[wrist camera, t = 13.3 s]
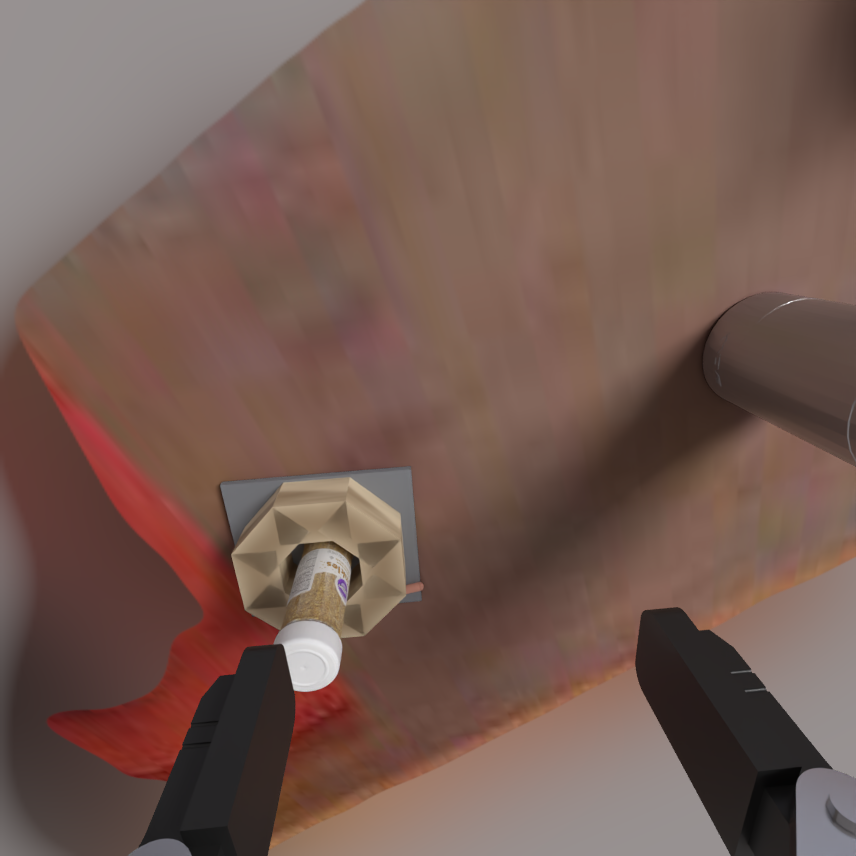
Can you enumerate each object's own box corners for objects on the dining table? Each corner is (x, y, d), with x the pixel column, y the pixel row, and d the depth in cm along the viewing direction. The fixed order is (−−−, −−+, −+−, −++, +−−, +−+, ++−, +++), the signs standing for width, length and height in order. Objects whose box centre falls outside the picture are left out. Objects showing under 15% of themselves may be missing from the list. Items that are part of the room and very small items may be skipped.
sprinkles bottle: (365, 549, 45) (353, 672, 32) (326, 575, 46) (300, 705, 33) (332, 514, 43) (307, 630, 31) (292, 542, 44) (252, 665, 32)
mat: (410, 466, 43) (411, 469, 42) (421, 596, 48) (421, 600, 47) (222, 481, 42) (220, 485, 42) (253, 612, 47) (252, 616, 47)
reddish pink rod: (422, 579, 46) (422, 584, 46) (424, 586, 47) (424, 591, 46) (290, 610, 47) (288, 616, 46) (293, 617, 47) (291, 623, 46)
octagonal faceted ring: (396, 473, 42) (396, 496, 39) (408, 599, 47) (409, 631, 44) (235, 486, 42) (220, 511, 38) (265, 613, 47) (254, 646, 43)
